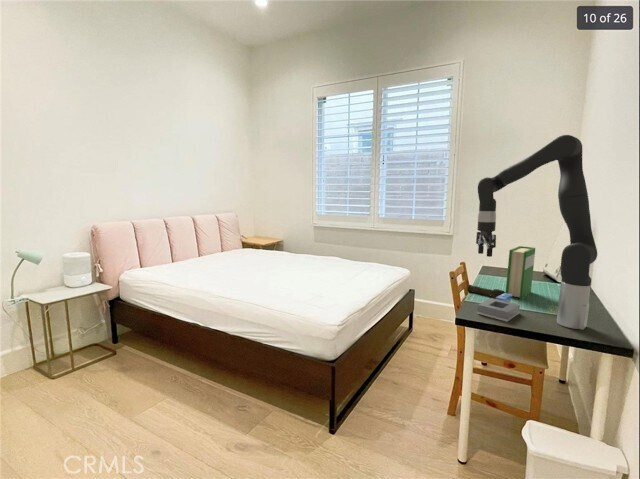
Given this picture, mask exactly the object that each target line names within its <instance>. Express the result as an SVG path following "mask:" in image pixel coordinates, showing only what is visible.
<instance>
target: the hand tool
mask: <svg viewBox="0 0 640 479" xmlns="http://www.w3.org/2000/svg"><path fill="white" fill-rule="evenodd" d="M467 292H468V293H469V292H470V293H475V294H480V295H483V296H489V297H491V298H493V299H496V297H498V296H500V295H501V294H503V293H506V291H505V290H503V289H496V288H495V289H490V288H484V287H481V286H476V285H472V284H468V285H467Z"/></svg>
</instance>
